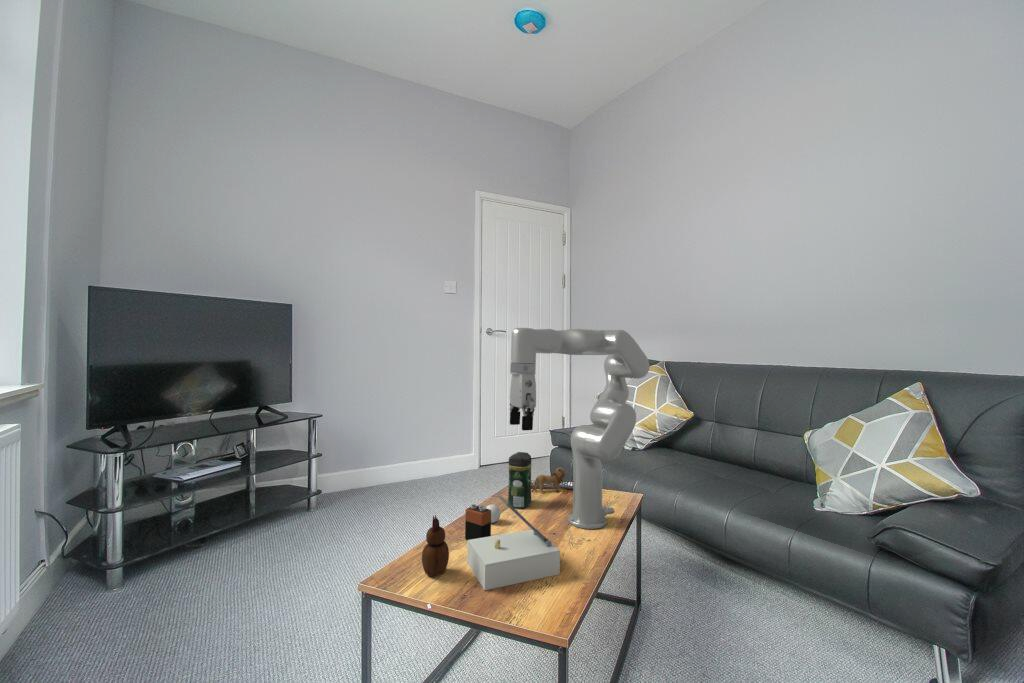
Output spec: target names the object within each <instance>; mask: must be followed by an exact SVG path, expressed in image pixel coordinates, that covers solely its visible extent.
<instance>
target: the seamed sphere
mask: <svg viewBox="0 0 1024 683" xmlns="http://www.w3.org/2000/svg"><path fill="white" fill-rule="evenodd" d="M485 507H486V509H490V510H491V524H494V523H496V522H498V521H499V520H500V518H501V509H500V507H499V506H498V505H496V504H493V503H492V504H488V505H487V506H485Z"/></svg>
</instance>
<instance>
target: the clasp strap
mask: <svg viewBox="0 0 1024 683" xmlns="http://www.w3.org/2000/svg"><path fill="white" fill-rule="evenodd" d="M498 498H499V499H500V500H501V502H503V504H505V505H506V506H507V507H508V508H509V509H510V510H511V511H512V512H513V513H514V514H515V515H516V516H518V517H519V519H520V520H522V522H523V523H525V525H526V526H527V527H529V528H530V530H531V529H532V530H533V531H534V532H535V534H536V535H537V536H538V537H539V538H540V539H541V540H542V541H543V542H544V543H545V544H546V541H548V540H549V538H547V537H546V536H545V535H544V534H542V533H541V532H540V531H537V530H536V529H537V528H535V527H534V526H533V525H532V523H530V522H529V521H528V520H527V518H525V517H524V516H523V515H522V514H521V513H520V512H519V511H518V510H517V508H513V507H512V506H511V505H510V504H509V503H508V501H507V500H506V499H505V498H504V497H503V496H501V495H500V494H499V496H498Z"/></svg>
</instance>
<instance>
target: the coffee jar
mask: <svg viewBox="0 0 1024 683" xmlns="http://www.w3.org/2000/svg"><path fill="white" fill-rule="evenodd" d="M507 467H508V492H507V494H508V495H507V496H508V497H507V500H508V501H507V502H508V503H509V504H510V505H511V506H512V507H513V508H515V509H526V508H528V507H529V506H530V504H531V502H532V492H531V491H532V456H531V455H530V454H529V452H523V451H517V452H516V453H514V454H511V456H509V457H508V466H507Z"/></svg>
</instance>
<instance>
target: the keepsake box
mask: <svg viewBox="0 0 1024 683" xmlns="http://www.w3.org/2000/svg"><path fill="white" fill-rule="evenodd" d="M535 529H536V530H537V531H539V529H538V528H535ZM539 532H540V531H539ZM466 544H467V548H466V549H467V554H466V558H467V560H466V563H467V565H468V567H469V568H470V570H471V571H472V572H473V574H474V575H475V577H476V579H477V581H478V582H479V583H480V586H481V587H482V588H483V590H484V591H488V590H493V589H498V588H503V587H507V586H512V585H516V584H520V583H521V584H522V583H525V582H531V581H534V580H539V579H543V578H544V579H545V578H549V577H553V576H559V575H560V574H561V572H560V566H561V565H560V564H561V563H560V562H561V559H560V558H561V557H560V555H561V550H560V549H559V548H558V547H557V546H555V545H554V544H553V543H552V540H550V539H548V541H546V544H545V543H544V542H543V541H542V540H541V539H540V538H539V537H538V536H537V535H536V534H535V532H534V531H533V530H532V529H531V528H530V529H527V530H525V529H524V530H521V531H514V532H509V533H508V532H507V533H502V534H496V535H491V536H489V537H483V538H477V539H471V540H467V543H466Z"/></svg>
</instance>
